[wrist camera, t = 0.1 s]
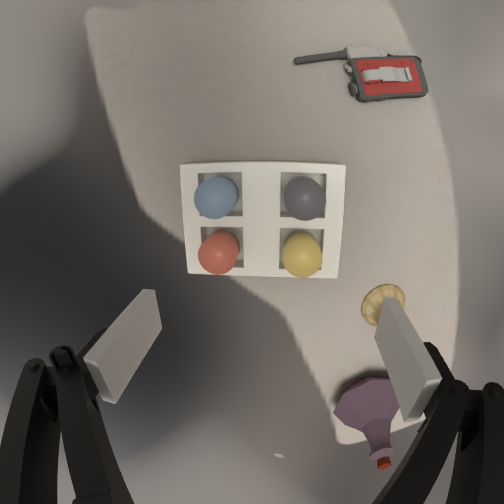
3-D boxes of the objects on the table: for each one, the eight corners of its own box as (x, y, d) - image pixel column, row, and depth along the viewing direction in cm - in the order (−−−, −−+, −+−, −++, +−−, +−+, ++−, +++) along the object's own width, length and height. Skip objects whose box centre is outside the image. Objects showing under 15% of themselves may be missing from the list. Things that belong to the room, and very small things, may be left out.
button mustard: (283, 230, 39) (283, 240, 35) (320, 232, 38) (323, 241, 34) (282, 265, 40) (282, 277, 37) (317, 265, 40) (320, 278, 36)
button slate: (201, 176, 37) (192, 179, 34) (238, 175, 37) (233, 178, 33) (203, 212, 39) (194, 219, 35) (239, 212, 38) (234, 219, 35)
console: (189, 163, 40) (179, 164, 37) (339, 163, 38) (345, 165, 34) (195, 263, 46) (188, 273, 42) (333, 267, 44) (337, 278, 40)
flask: (366, 418, 56) (378, 486, 38) (315, 400, 55) (319, 478, 36) (416, 377, 50) (443, 446, 32) (367, 352, 49) (391, 436, 30)
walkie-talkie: (412, 48, 30) (291, 57, 34) (423, 40, 26) (292, 47, 29) (427, 98, 33) (307, 111, 36) (440, 95, 29) (309, 106, 32)
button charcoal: (284, 175, 36) (284, 178, 32) (322, 176, 36) (326, 180, 32) (283, 212, 38) (283, 220, 34) (321, 214, 37) (325, 221, 34)
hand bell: (408, 282, 43) (448, 336, 28) (400, 322, 46) (431, 382, 31) (363, 285, 44) (392, 345, 29) (358, 326, 47) (379, 391, 32)
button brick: (204, 229, 40) (196, 238, 36) (239, 229, 39) (234, 238, 36) (206, 262, 42) (199, 273, 38) (240, 263, 41) (236, 275, 37)
